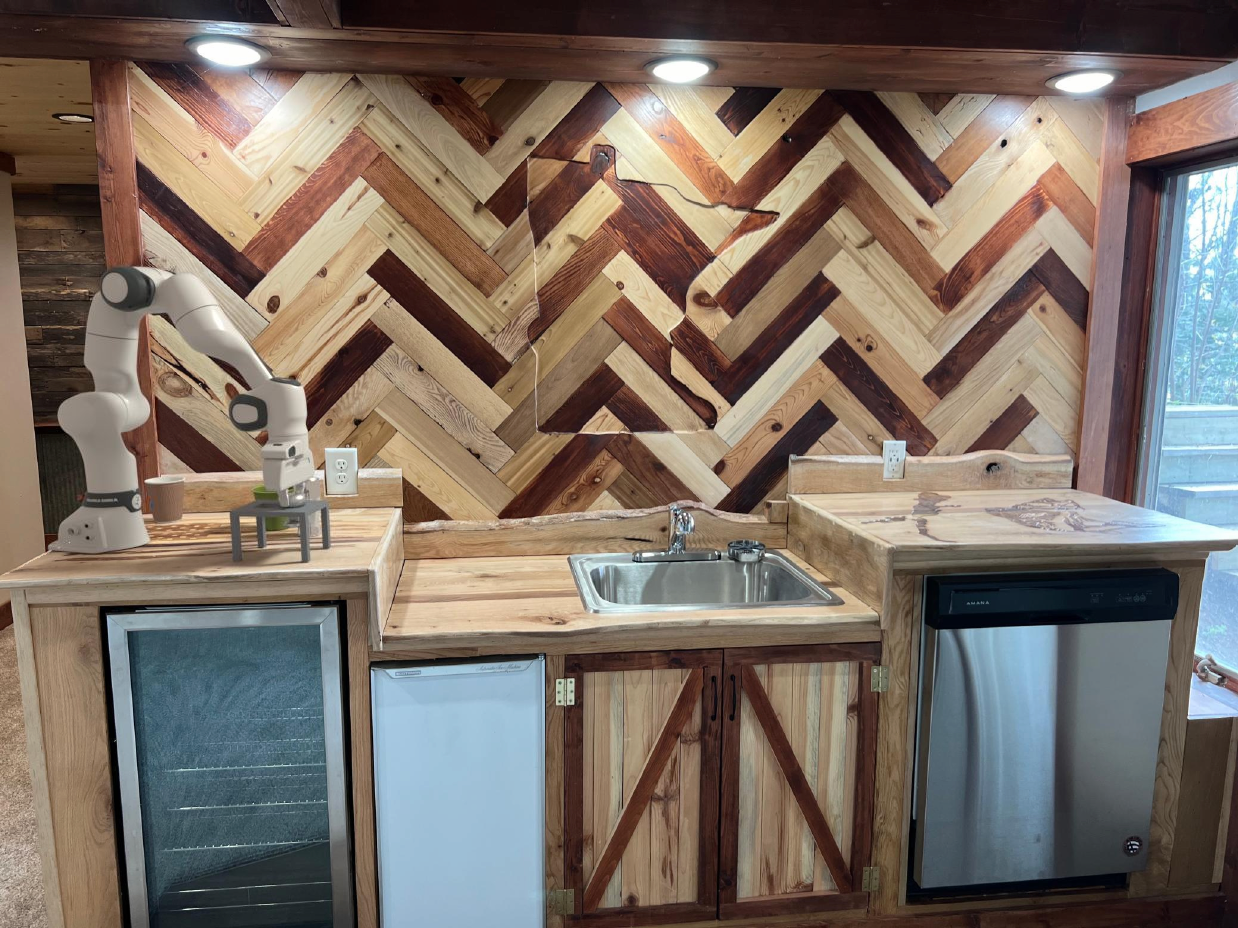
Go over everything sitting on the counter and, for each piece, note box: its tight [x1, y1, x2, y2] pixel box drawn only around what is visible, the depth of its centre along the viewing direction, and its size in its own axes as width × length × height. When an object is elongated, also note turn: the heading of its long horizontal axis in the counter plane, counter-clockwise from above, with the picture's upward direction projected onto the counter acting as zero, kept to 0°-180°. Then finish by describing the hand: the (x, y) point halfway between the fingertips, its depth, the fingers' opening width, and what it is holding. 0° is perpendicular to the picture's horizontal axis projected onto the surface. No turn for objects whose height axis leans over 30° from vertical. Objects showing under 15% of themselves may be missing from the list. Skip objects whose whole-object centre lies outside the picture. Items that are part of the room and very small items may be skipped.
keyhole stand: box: [229, 499, 332, 563], centre depth 205 cm, size 18×14×12 cm
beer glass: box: [293, 476, 322, 538], centre depth 225 cm, size 7×7×15 cm
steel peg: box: [279, 492, 306, 529], centre depth 204 cm, size 6×6×8 cm
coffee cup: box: [144, 476, 186, 524], centre depth 241 cm, size 10×10×12 cm
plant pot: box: [250, 485, 293, 531], centre depth 232 cm, size 12×12×11 cm
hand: (292, 503), depth 204 cm, fingers closed on steel peg, 6 cm apart
